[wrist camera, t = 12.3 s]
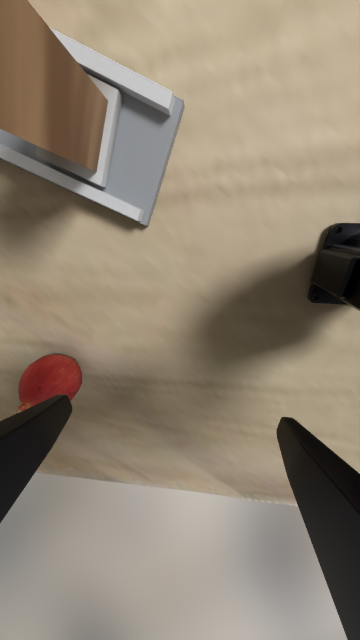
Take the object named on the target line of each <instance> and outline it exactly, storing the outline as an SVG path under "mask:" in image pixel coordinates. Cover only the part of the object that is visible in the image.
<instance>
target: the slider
mask: <svg viewBox="0 0 360 640" xmlns="http://www.w3.org/2000/svg"><path fill="white" fill-rule="evenodd" d="M49 28H50V27H49ZM50 29H51V30H52V32H53V33H54V34H55V35H56V37H57V38H58V39H59V40H60V42H61V43H62V44H63V45H64V46H65V48H66V49H67V50H68V51H69V53H70V54H71V55H72V56H73V58H74V59H75V60H76V61H77V63H78V64H79V65H80V66H81V68H82V69H83V70H84V71H85V73H86V74H88V75H90V76H92V77H94V78H96V79H98V80H100V81H102V82H104V83H106V84H108V85H110V86H112V87H113V88H115V89H117V90H119V92H120V93H121V95H122V96H123V100H122V105H121V110H120V116H119V121H118V126H117V131H116V137H115V142H114V147H113V153H112V158H111V163H110V168H109V174H108V179H107V184H106V188H105V187H102V186H100V185H98V184H96V183H94V182H91V181H89V180H87V179H85V178H83V177H81V176H79V175H76V174H74V173H72V172H70V171H68V170H66V169H64V168H61V167H59V166H57V165H55V164H53V163H51V162H49V161H47V160H44V159H42V158H40V157H38V156H36V150H37V145H35V144H32V143H30V142H28V141H26V140H24V139H21V138H19V137H17V136H15V135H12V134H10V133H8V132H6V131H4V130H1V129H0V159H2V160H4V161H7V162H9V163H11V164H13V165H15V166H17V167H20V168H22V169H24V170H26V171H28V172H30V173H33V174H35V175H37V176H39V177H41V178H43V179H46V180H48V181H50V182H52V183H54V184H56V185H59V186H61V187H63V188H65V189H67V190H70V191H72V192H74V193H76V194H78V195H80V196H83V197H85V198H87V199H89V200H91V201H93V202H96V203H98V204H100V205H102V206H104V207H106V208H109V209H111V210H113V211H115V212H117V213H119V214H122V215H124V216H126V217H128V218H130V219H132V220H135V221H137V222H139V223H141V224H143V225H145V226H149V223H150V219H151V216H152V213H153V210H154V206H155V203H156V200H157V196H158V193H159V190H160V186H161V183H162V180H163V176H164V173H165V170H166V166H167V163H168V160H169V157H170V153H171V150H172V147H173V143H174V140H175V137H176V133H177V130H178V127H179V123H180V120H181V117H182V114H183V110H184V101H183V100H181V99H180V98H178V97H176V96H174V94H173V92H172V91H170V90H168V89H166V88H164V87H163V86H161V85H159V84H157V83H155V82H153V81H151V80H149V79H147V78H145V77H143V76H142V75H140V74H138V73H136V72H134V71H132V70H130V69H128V68H126V67H124V66H122V65H121V64H119V63H117V62H115V61H113V60H111V59H109V58H107V57H105V56H103V55H101V54H99V53H98V52H96V51H94V50H92V49H90V48H88V47H86V46H84V45H82V44H80V43H78V42H77V41H75V40H73V39H71V38H69V37H67V36H65V35H63V34H61V33H59V32H57V31H56V30H54V29H52V28H50Z"/></svg>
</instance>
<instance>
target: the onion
mask: <svg viewBox="0 0 360 640" xmlns="http://www.w3.org/2000/svg"><path fill="white" fill-rule="evenodd" d="M81 384H82V374H81V370H80V368H79V366H78V364H77V363H76V362H75V360H74V359H73V358H71V357H67V356H64V355H58V354H57V355H48V356H44V357H42V358H40V359H38V360H36V361H35V362H33V363H32V364H30V365H29V366H28V368H27V369H26V370H25V372H24V373H23V375H22V377H21V379H20V383H19V398H20V401H21V404H20V406H19V407H18V409H17V412H18V413H19V412H21V411H23V410H25V409H28V408H30V407H32V406H34V405H36V404H38V403H40V402H42V401H44V400H47V399H49V398H51V397H53V396H55V395H57V394H65V395H68V396H69V399H70V401H71V400H72V399H73V398H74V396H75V395H76V393H77V392H78V390H79V389H80V386H81Z"/></svg>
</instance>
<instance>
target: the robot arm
mask: <svg viewBox="0 0 360 640" xmlns="http://www.w3.org/2000/svg"><path fill="white" fill-rule="evenodd" d="M337 227H339V231H338V232H337V233H335V230H336V228H337ZM311 281H312V284H311V287H310V291H309V294H308V300H310V301H311V302H313V303H330V304H349V305H350V306H352V307H354V308H355V309H357V310H359V311H360V223H336V224H334V225H332V226H331V227H330V229H329V231H328V234H327V237H326V241H325V244H324V247H323V250H322V251H320V253H319V256H318V259H317V262H316V266H315V269H314V272H313V275H312V278H311ZM314 295H317V296H316V298H314V299H313V296H314ZM71 413H72V405H71V402H70V399H69V396H68V395H65V394H57V395H55V396H53V397H51V398H49V399H47V400H44V401H42V402H40V403H38V404H36V405H34V406H32V407H30V408H28V409H25V410H23V411H21V412H19V413H17V414H15V415H13V416H11V417H9V418H6V419H4V420H2V421H0V523H1V521H2V520H3V518H4V517H5V516H6V514H7V513H8V511H9V510H10V508H11V507H12V505H13V504H14V502H15V501H16V499H17V498H18V497H19V495H20V494H21V492H22V491H23V489H24V488H25V486H26V485H27V483H28V482H29V480H30V479H31V478H32V476H33V475H34V473H35V472H36V470H37V469H38V467H39V466H40V464H41V463H42V461H43V460H44V459H45V457H46V456H47V454H48V453H49V451H50V450H51V448H52V447H53V445H54V443H55V442H56V440H57V438H58V436H59V435H60V433H61V431H62V429H63V427H64V426H65V424H66V422H67V420H68V419H69V417H70V415H71ZM277 439H278V443H279V446H280V450H281V454H282V458H283V462H284V466H285V469H286V473H287V476H288V479H289V482H290V485H291V488H292V490H293V493H294V496H295V499H296V501H297V504H298V507H299V509H300V512H301V515H302V517H303V520H304V523H305V525H306V528H307V531H308V534H309V536H310V539H311V542H312V544H313V547H314V549H315V553H316V555H317V558H318V561H319V563H320V566H321V568H322V571H323V574H324V577H325V580H326V582H327V585H328V588H329V590H330V593H331V596H332V598H333V601H334V604H335V606H336V609H337V612H338V615H339V617H340V620H341V623H342V625H343V628H344V631H345V634H346V636H347V639H348V640H360V474H359V473H358V472H357V471H356V470H354V469H353V468H352V467H351V466H350V465H348V464H347V463H346V462H345V461H344V460H343V459H341V458H340V457H339V456H338V455H337V454H335V453H334V452H333V451H332V450H331V449H329V448H328V447H327V446H326V445H325V444H323V443H322V442H321V441H320V440H319V439H317V438H316V437H315V436H314V435H313V434H311V433H310V432H309V431H308V430H307V429H306V428H304V427H303V426H302V425H301V424H300V423H298V422H297V421H296V420H295V419H293V418H290V417H282V418H281V420H280V422H279V425H278V428H277Z"/></svg>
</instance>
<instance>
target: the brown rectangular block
mask: <svg viewBox="0 0 360 640" xmlns="http://www.w3.org/2000/svg"><path fill="white" fill-rule="evenodd" d="M122 100H123V96H122V95H121V93H120V92H119V90H117V89H115V88H113V87H112V86H110V85H108V84H106V83H104V82H102V81H100V80H98V79H96V78H94V77H92V76H90V75H88V74H86V73H85V71H84V70H83V69H82V68H81V66H80V65H79V64H78V63H77V61H76V60H75V59H74V58H73V56H72V55H71V54H70V53H69V51H68V50H67V49H66V48H65V46H64V45H63V44H62V43H61V42H60V40H59V39H58V38H57V37H56V35H55V34H54V33H53V32H52V30H51V29H50V28H49V27H48V25H47V24H46V23H45V22H44V20H43V19H42V18H41V17H40V15H39V14H38V13H37V12H36V11H35V9H34V8H33V7H32V6H31V4H30V3H29V2H28V1H27V0H0V129H1V130H4V131H6V132H8V133H10V134H12V135H15V136H17V137H19V138H21V139H24V140H26V141H28V142H30V143H32V144H35V145H37V150H36V156H38V157H40V158H42V159H44V160H47V161H49V162H51V163H53V164H55V165H57V166H59V167H61V168H64V169H66V170H68V171H70V172H72V173H74V174H76V175H79V176H81V177H83V178H85V179H87V180H89V181H91V182H94V183H96V184H98V185H100V186H102V187H105V188H106V184H107V179H108V174H109V168H110V163H111V158H112V153H113V147H114V142H115V137H116V131H117V126H118V121H119V116H120V110H121V105H122Z"/></svg>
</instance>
